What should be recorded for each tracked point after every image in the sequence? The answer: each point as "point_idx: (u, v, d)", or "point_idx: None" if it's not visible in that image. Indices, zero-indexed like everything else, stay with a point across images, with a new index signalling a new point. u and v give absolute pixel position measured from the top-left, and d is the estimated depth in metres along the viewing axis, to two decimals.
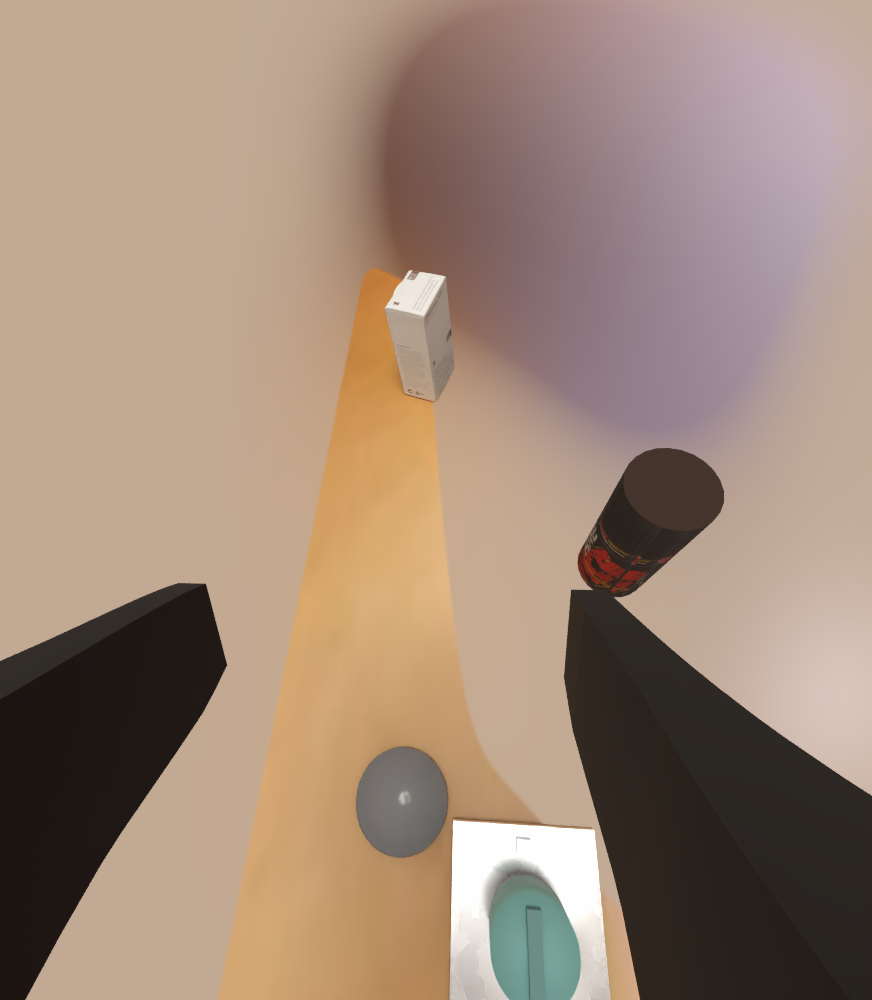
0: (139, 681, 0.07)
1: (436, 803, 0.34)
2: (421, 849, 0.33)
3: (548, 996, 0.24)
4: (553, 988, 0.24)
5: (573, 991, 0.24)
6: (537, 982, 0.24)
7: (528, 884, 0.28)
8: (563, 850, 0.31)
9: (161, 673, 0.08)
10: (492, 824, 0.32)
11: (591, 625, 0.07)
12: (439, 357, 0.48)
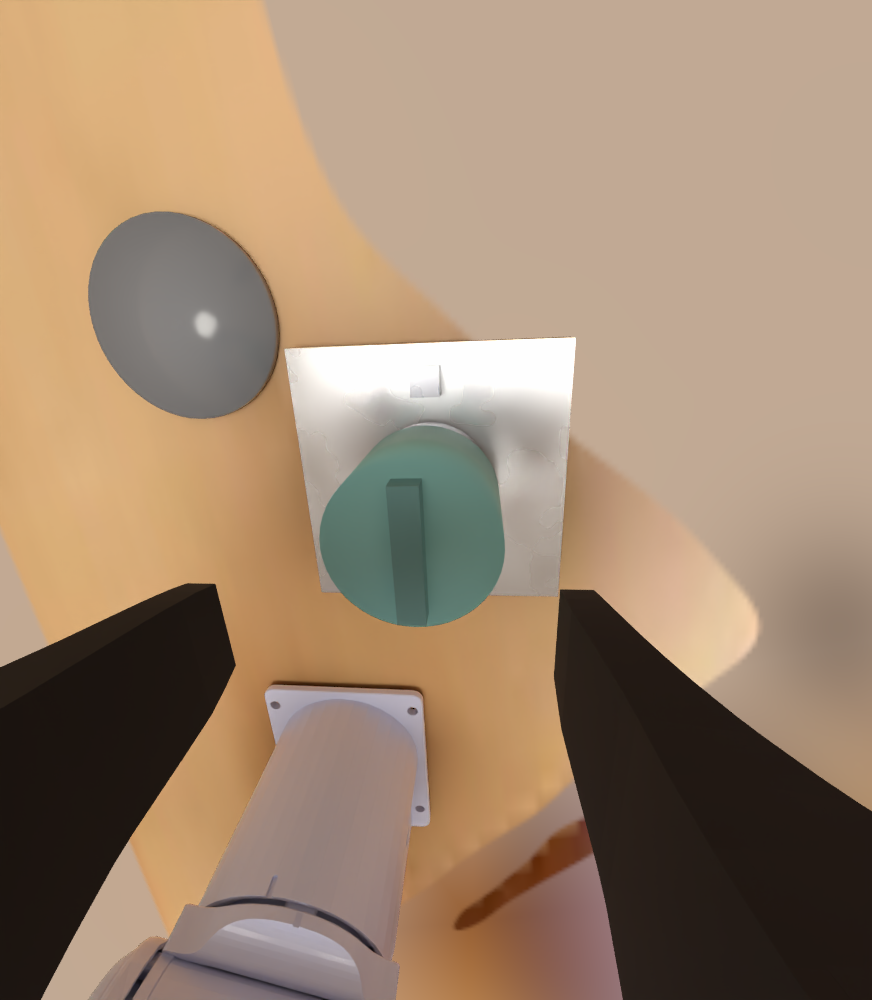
0: (150, 681, 0.07)
1: (252, 322, 0.16)
2: (241, 403, 0.17)
3: (436, 604, 0.13)
4: (446, 594, 0.12)
5: (485, 594, 0.13)
6: (409, 593, 0.12)
7: (414, 439, 0.13)
8: (506, 379, 0.15)
9: (172, 673, 0.08)
10: (363, 347, 0.15)
11: (578, 625, 0.07)
12: None
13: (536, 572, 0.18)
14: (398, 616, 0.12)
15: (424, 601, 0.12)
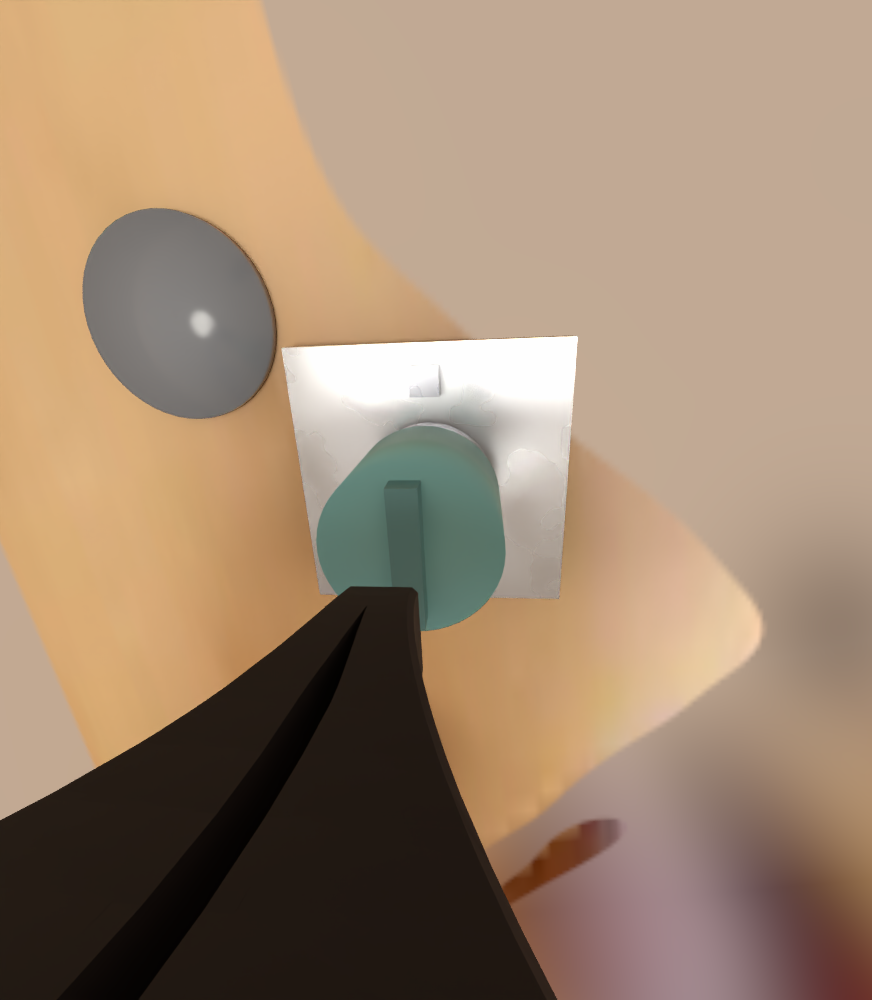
0: None
1: (249, 320, 0.16)
2: (238, 403, 0.17)
3: (435, 608, 0.12)
4: (445, 598, 0.12)
5: (485, 598, 0.12)
6: None
7: (412, 440, 0.13)
8: (507, 379, 0.15)
9: None
10: (361, 346, 0.15)
11: None
12: None
13: (537, 574, 0.18)
14: None
15: (423, 605, 0.12)
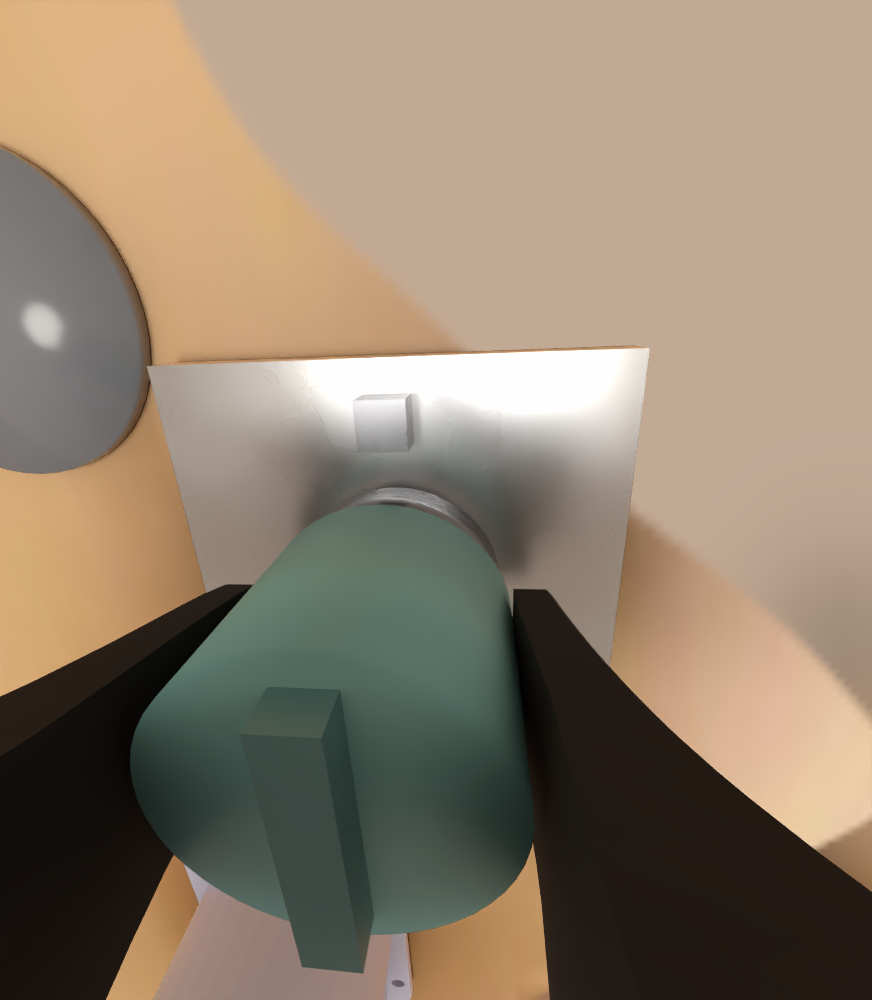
0: None
1: (98, 320, 0.10)
2: (96, 450, 0.11)
3: (388, 904, 0.06)
4: (407, 890, 0.06)
5: (490, 885, 0.06)
6: (322, 924, 0.05)
7: (346, 555, 0.06)
8: (524, 420, 0.09)
9: None
10: (278, 364, 0.09)
11: (521, 624, 0.07)
12: None
13: None
14: (302, 954, 0.06)
15: (355, 938, 0.05)
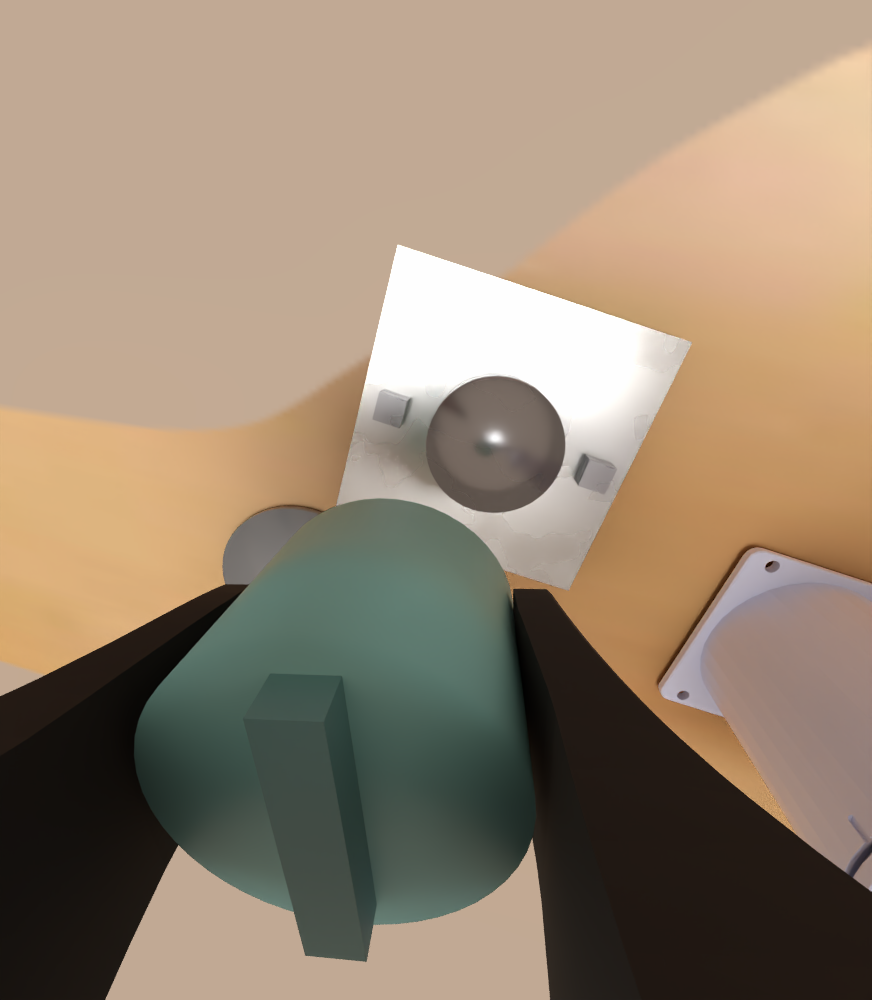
0: None
1: None
2: None
3: (390, 893, 0.06)
4: (410, 879, 0.06)
5: (492, 872, 0.06)
6: (325, 911, 0.05)
7: (347, 546, 0.07)
8: (417, 329, 0.15)
9: None
10: (350, 451, 0.17)
11: (522, 623, 0.07)
12: None
13: (646, 359, 0.15)
14: (306, 942, 0.06)
15: (358, 925, 0.05)
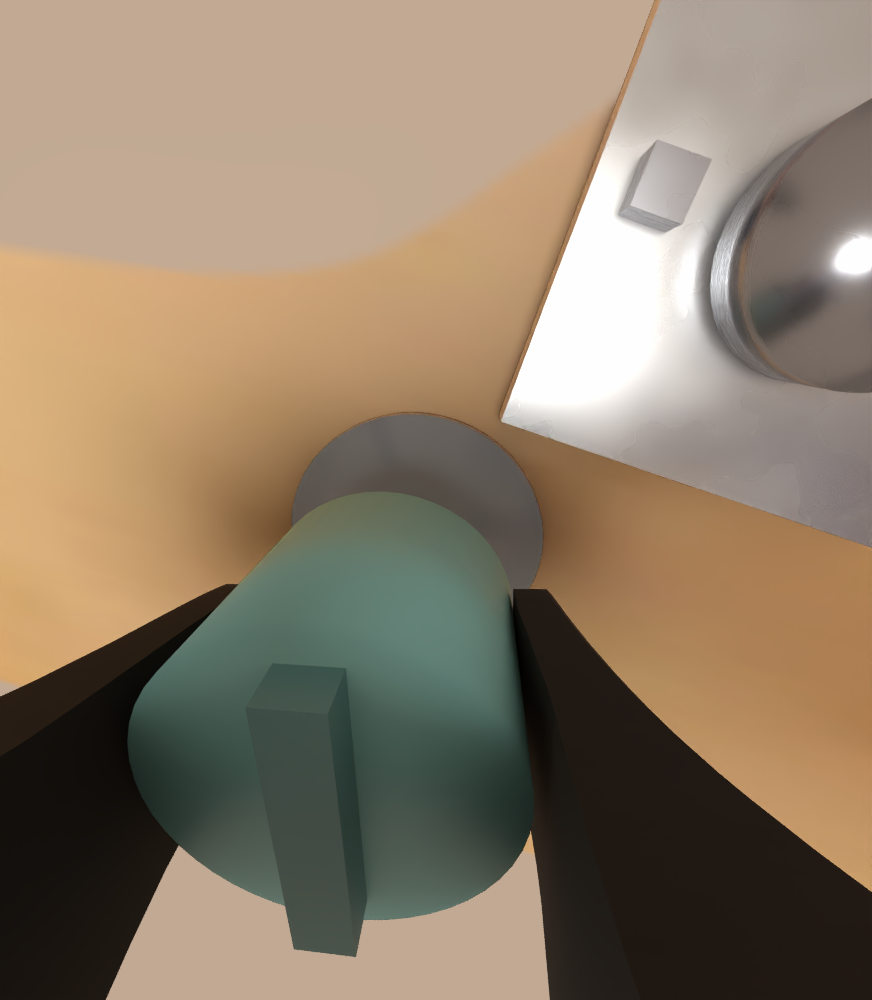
0: None
1: (447, 452, 0.11)
2: (538, 522, 0.12)
3: (382, 888, 0.06)
4: (402, 875, 0.06)
5: (484, 871, 0.06)
6: (317, 905, 0.05)
7: (352, 538, 0.06)
8: (738, 10, 0.08)
9: None
10: (552, 294, 0.09)
11: (521, 624, 0.07)
12: None
13: None
14: (295, 936, 0.06)
15: (350, 920, 0.05)
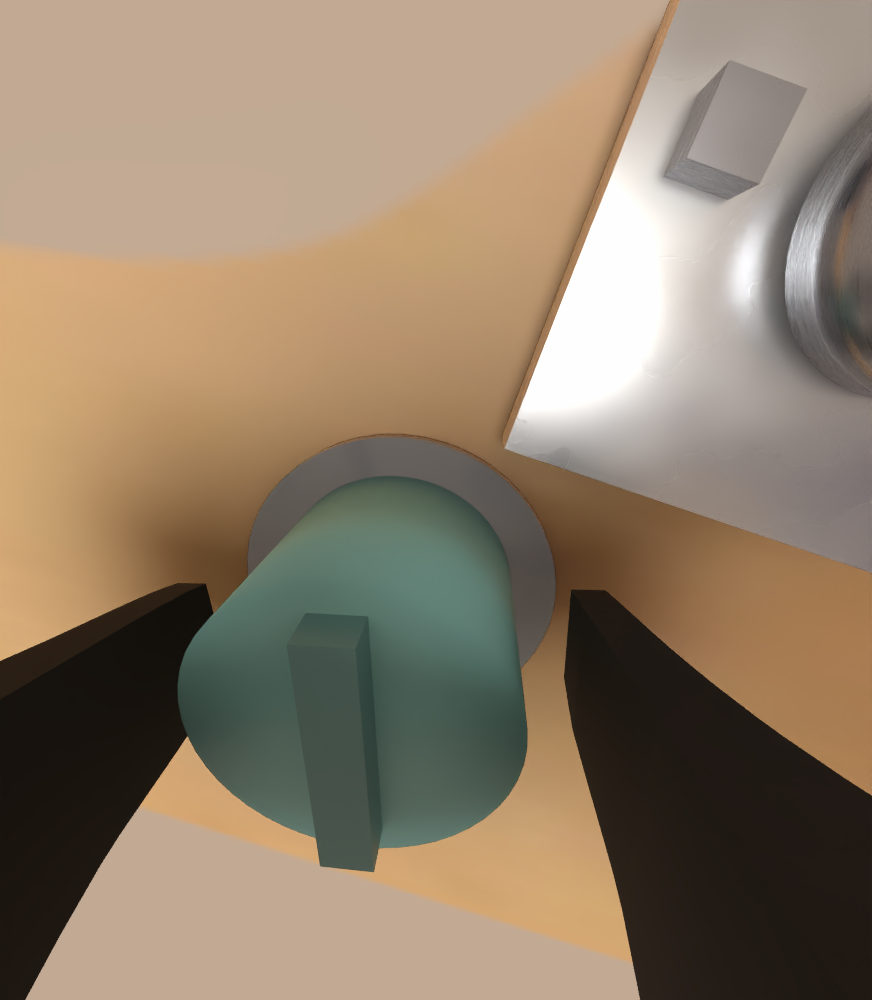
0: (139, 681, 0.07)
1: (436, 484, 0.09)
2: (549, 569, 0.10)
3: (395, 817, 0.07)
4: (413, 805, 0.07)
5: (485, 803, 0.07)
6: (341, 823, 0.06)
7: (368, 514, 0.07)
8: None
9: (161, 673, 0.08)
10: (573, 284, 0.07)
11: (591, 625, 0.07)
12: None
13: None
14: (321, 853, 0.06)
15: (369, 837, 0.06)
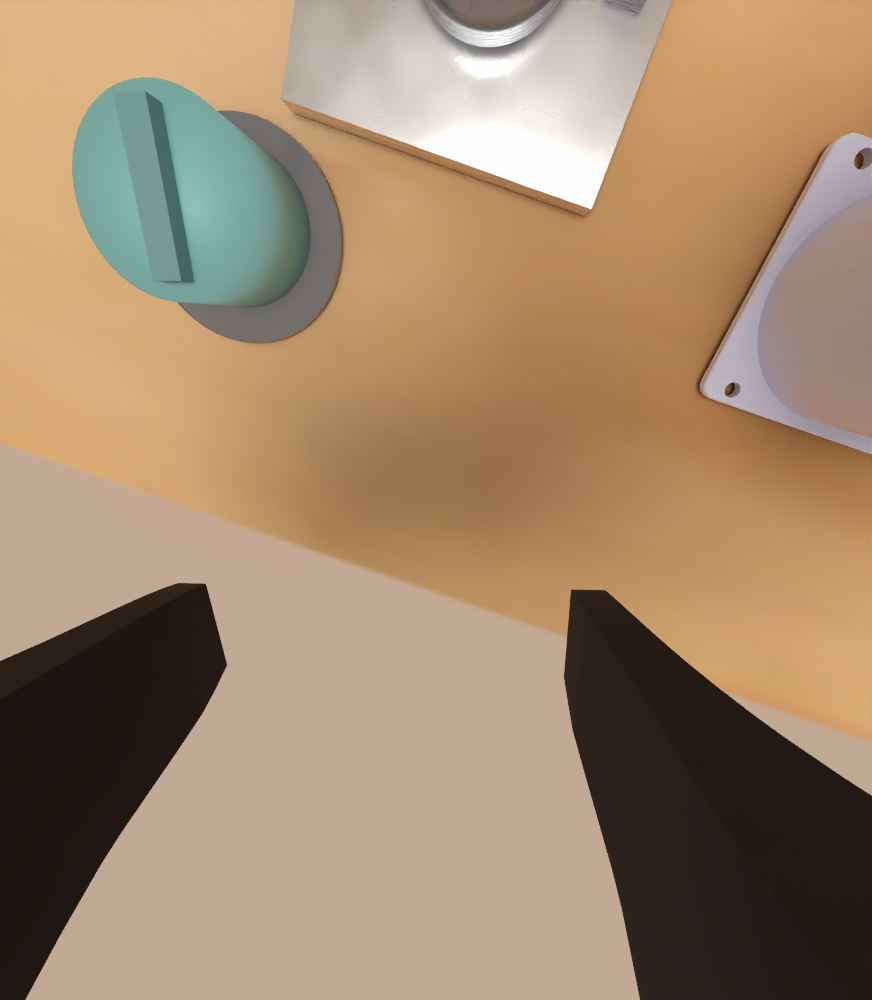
0: (139, 681, 0.07)
1: None
2: (332, 209, 0.15)
3: (200, 271, 0.12)
4: (207, 257, 0.12)
5: (250, 262, 0.12)
6: (158, 237, 0.12)
7: None
8: None
9: (161, 673, 0.08)
10: None
11: (591, 625, 0.07)
12: None
13: None
14: (152, 269, 0.12)
15: (174, 247, 0.12)
